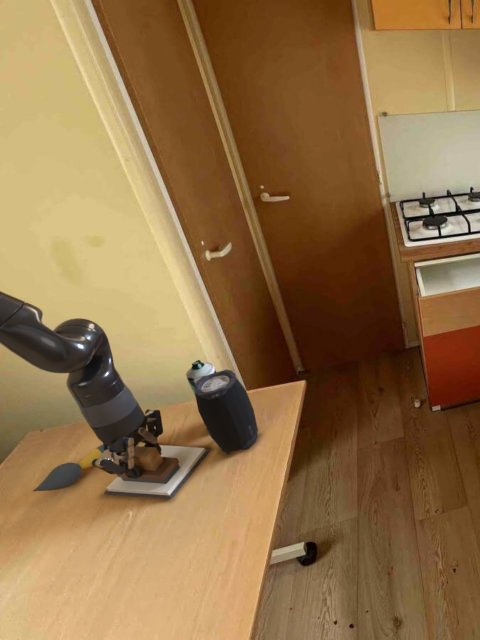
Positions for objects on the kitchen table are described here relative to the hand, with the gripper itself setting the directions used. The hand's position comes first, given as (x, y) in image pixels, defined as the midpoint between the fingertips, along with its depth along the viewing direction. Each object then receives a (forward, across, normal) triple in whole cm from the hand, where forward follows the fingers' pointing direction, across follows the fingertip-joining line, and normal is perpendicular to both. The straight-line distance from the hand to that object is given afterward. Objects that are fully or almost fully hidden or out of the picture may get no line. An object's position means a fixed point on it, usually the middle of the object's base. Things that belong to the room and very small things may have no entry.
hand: (146, 465), depth 91 cm
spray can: (+5, -16, +5) cm, 17 cm away
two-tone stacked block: (+3, 0, 0) cm, 3 cm away
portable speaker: (+5, -11, +13) cm, 17 cm away
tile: (+4, -2, 0) cm, 5 cm away
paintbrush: (+4, -3, -16) cm, 17 cm away
